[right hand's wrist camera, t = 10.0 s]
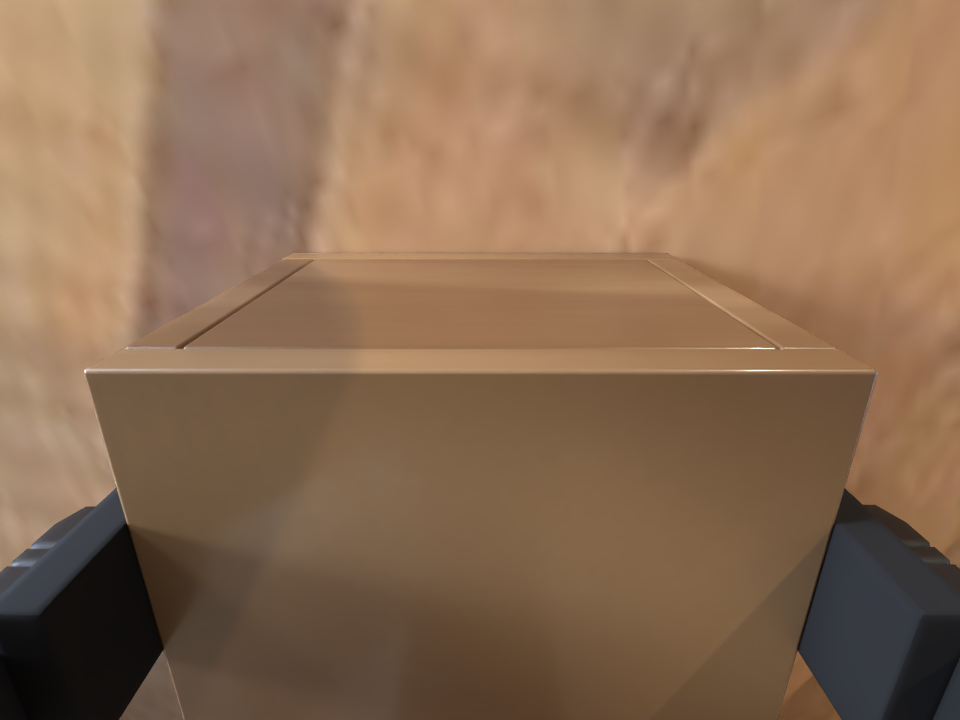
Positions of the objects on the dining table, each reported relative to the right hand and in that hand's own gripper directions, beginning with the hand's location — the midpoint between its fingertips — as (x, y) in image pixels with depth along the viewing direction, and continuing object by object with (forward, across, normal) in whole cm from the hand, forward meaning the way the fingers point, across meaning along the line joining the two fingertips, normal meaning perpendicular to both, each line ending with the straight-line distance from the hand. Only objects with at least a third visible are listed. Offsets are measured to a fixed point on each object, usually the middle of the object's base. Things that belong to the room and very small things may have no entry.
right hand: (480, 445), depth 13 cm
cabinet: (+4, 0, -4) cm, 6 cm away
